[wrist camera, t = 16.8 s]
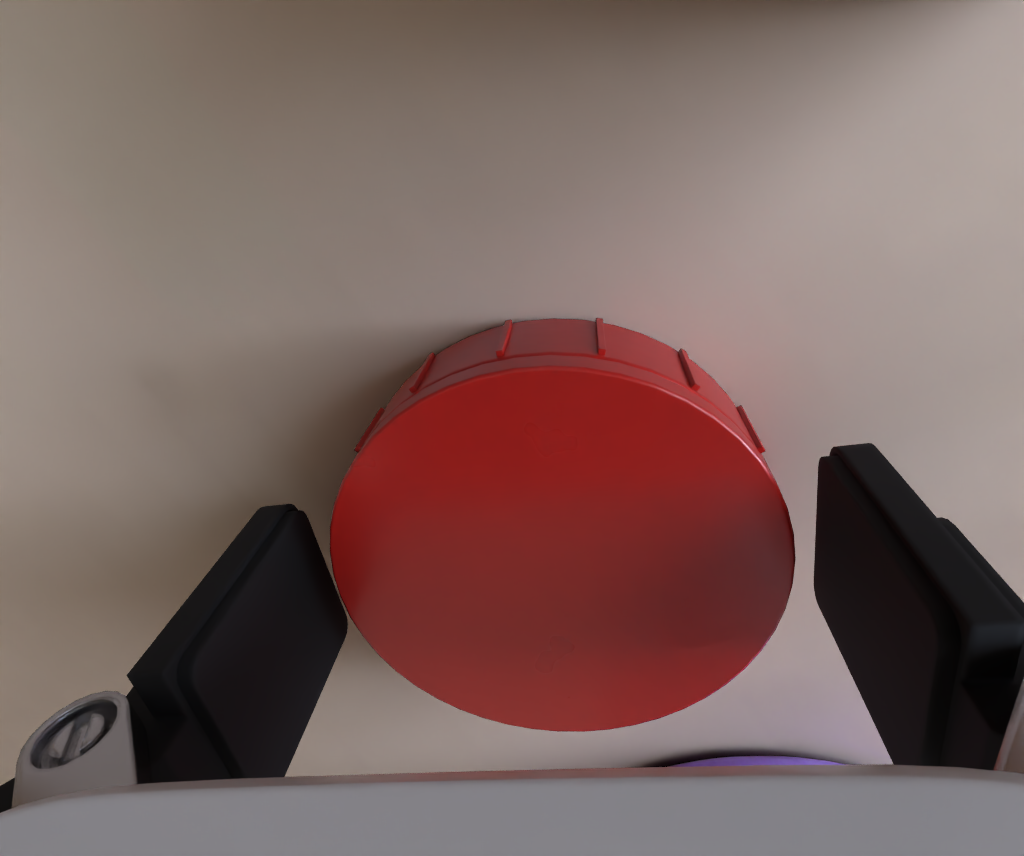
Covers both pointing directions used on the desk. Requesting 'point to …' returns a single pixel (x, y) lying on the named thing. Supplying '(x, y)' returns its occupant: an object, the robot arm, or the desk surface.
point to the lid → (563, 529)
